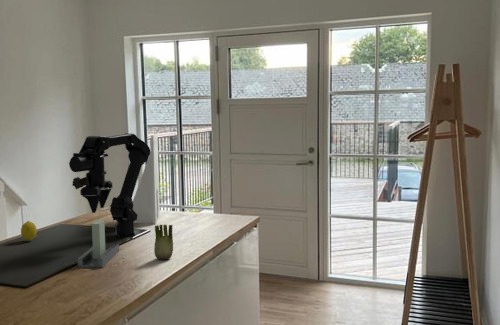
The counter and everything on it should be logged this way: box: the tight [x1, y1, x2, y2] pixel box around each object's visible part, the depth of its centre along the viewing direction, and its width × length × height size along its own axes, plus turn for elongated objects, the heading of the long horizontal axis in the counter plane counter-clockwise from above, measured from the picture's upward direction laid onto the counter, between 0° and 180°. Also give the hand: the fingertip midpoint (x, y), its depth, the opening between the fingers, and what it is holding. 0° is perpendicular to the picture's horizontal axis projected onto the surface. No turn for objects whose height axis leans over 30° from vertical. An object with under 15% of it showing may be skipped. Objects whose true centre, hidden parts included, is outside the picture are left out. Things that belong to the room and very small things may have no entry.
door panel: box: [91, 220, 106, 259], centre depth 157 cm, size 5×2×12 cm, turn 179°
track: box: [77, 242, 120, 269], centre depth 158 cm, size 18×8×3 cm, turn 179°
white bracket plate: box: [132, 133, 160, 226], centre depth 216 cm, size 20×14×40 cm
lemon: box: [20, 220, 37, 242], centre depth 181 cm, size 6×6×8 cm
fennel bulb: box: [153, 224, 174, 260], centre depth 157 cm, size 6×5×12 cm
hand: (98, 210), depth 176 cm, fingers open, 9 cm apart
